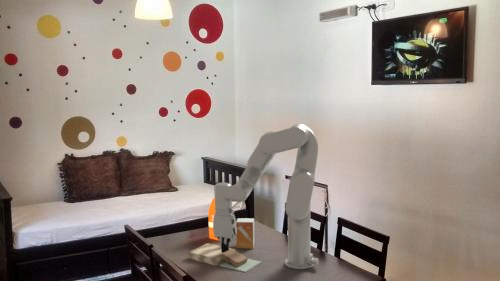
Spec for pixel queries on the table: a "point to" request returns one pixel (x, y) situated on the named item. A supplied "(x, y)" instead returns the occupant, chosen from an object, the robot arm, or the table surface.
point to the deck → (208, 254)
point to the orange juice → (211, 219)
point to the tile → (234, 257)
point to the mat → (243, 267)
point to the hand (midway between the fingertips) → (225, 251)
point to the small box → (245, 233)
